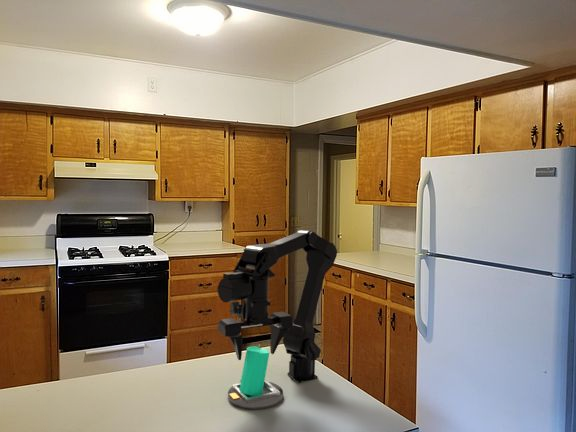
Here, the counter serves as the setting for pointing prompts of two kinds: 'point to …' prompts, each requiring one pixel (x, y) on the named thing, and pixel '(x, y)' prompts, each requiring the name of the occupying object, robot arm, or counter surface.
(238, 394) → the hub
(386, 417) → the counter surface
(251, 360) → the candle
